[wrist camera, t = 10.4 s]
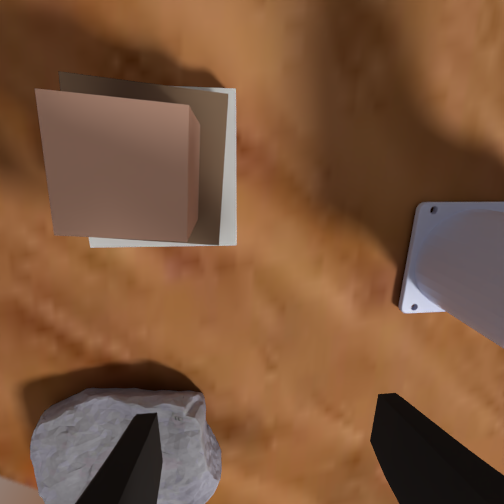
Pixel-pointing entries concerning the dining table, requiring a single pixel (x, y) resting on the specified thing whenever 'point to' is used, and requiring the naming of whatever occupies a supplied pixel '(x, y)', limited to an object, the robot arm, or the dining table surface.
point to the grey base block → (228, 192)
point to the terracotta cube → (120, 166)
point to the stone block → (108, 434)
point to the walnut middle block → (211, 137)
